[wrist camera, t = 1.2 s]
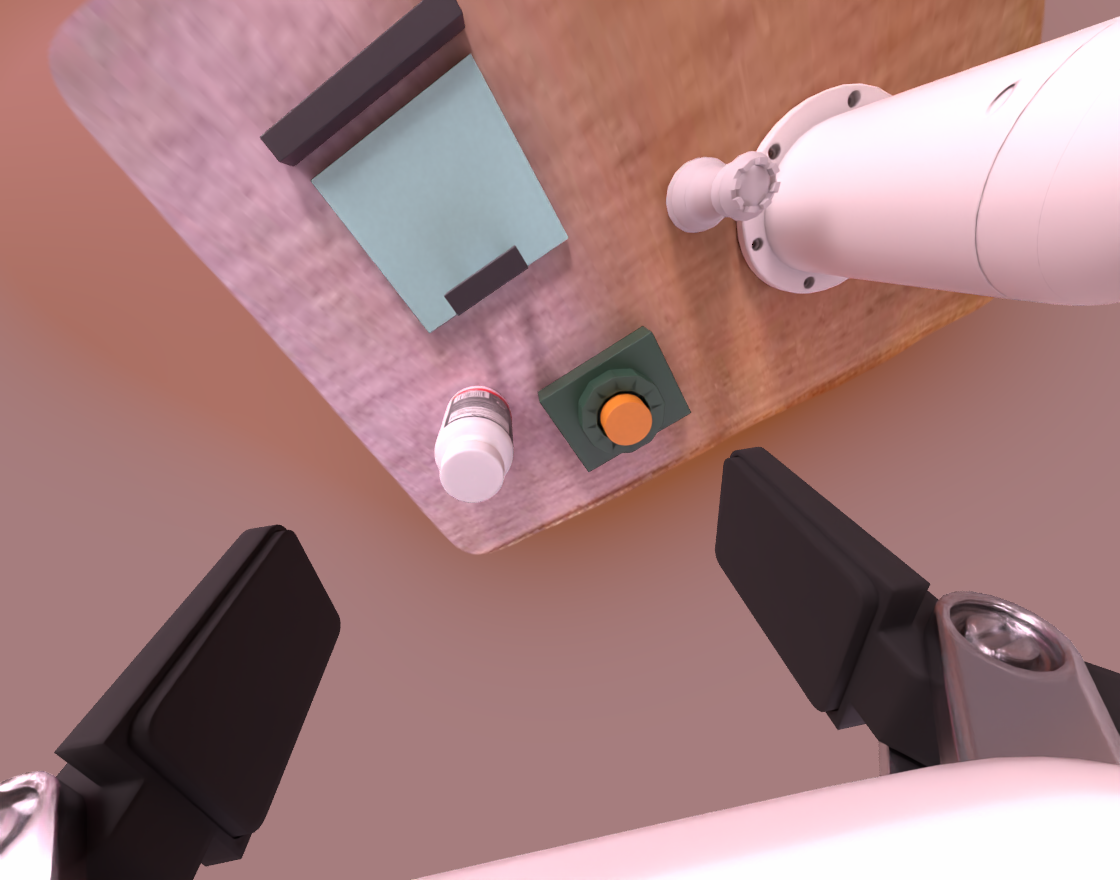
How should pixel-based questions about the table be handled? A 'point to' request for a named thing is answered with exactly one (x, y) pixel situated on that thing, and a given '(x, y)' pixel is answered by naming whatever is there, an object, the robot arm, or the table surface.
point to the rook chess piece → (721, 190)
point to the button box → (603, 377)
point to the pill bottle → (475, 444)
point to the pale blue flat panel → (444, 198)
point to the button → (625, 419)
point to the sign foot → (364, 79)
